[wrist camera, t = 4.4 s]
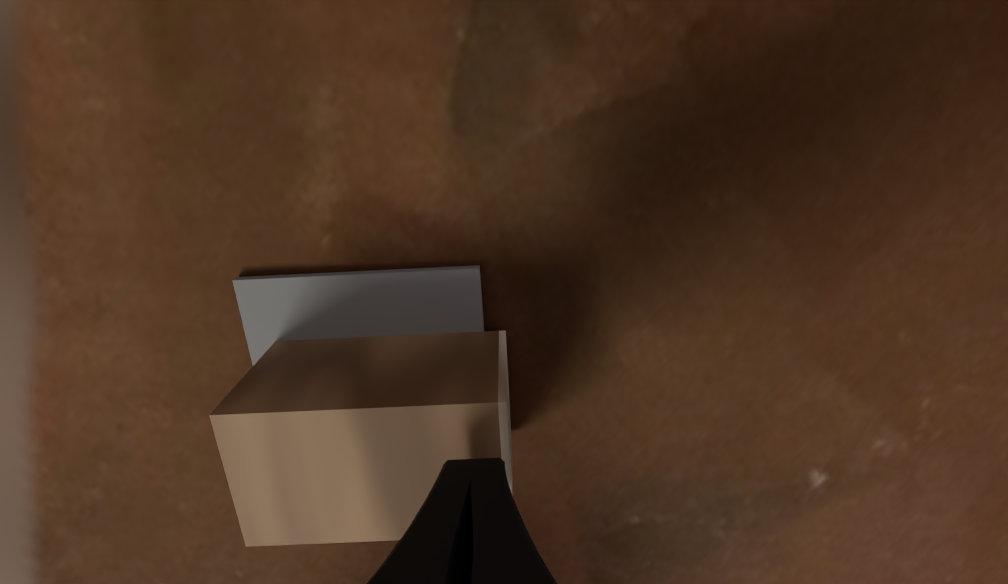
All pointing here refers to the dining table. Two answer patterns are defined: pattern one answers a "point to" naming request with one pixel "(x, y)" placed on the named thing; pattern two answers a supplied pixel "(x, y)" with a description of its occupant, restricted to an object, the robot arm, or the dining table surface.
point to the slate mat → (358, 304)
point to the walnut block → (358, 431)
